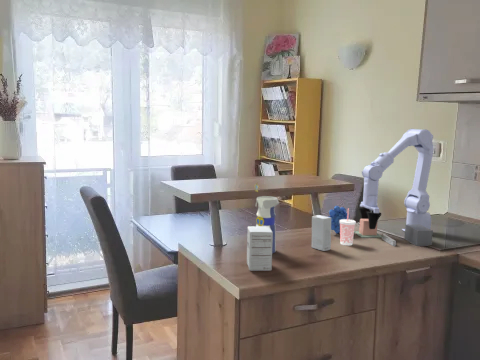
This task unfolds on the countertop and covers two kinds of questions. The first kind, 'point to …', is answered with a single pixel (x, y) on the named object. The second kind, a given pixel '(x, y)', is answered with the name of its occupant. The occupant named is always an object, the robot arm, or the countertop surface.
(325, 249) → the skincare box
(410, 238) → the gray rectangular block
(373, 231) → the salmon pink block
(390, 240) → the bar
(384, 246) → the countertop surface
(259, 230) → the supplement box
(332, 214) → the grapes
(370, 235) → the mat
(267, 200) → the spray bottle
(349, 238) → the beverage cup
